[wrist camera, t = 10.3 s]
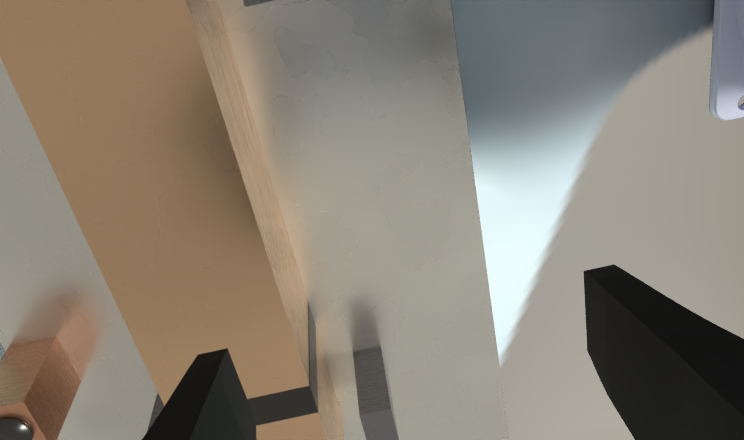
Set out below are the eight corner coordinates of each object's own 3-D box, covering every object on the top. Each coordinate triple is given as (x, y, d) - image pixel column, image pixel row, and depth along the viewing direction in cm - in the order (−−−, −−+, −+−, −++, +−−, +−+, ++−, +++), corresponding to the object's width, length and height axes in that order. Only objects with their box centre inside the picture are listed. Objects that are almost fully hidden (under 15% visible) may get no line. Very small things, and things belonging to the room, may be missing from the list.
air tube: (343, 421, 25) (350, 514, 21) (237, 443, 25) (226, 540, 21) (185, -112, 16) (153, -104, 13) (22, -75, 16) (-55, -57, 13)
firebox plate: (396, -323, 16) (430, -385, 12) (498, 410, 27) (533, 506, 23) (-261, -174, 16) (-452, -184, 12) (117, 492, 28) (85, 602, 23)
